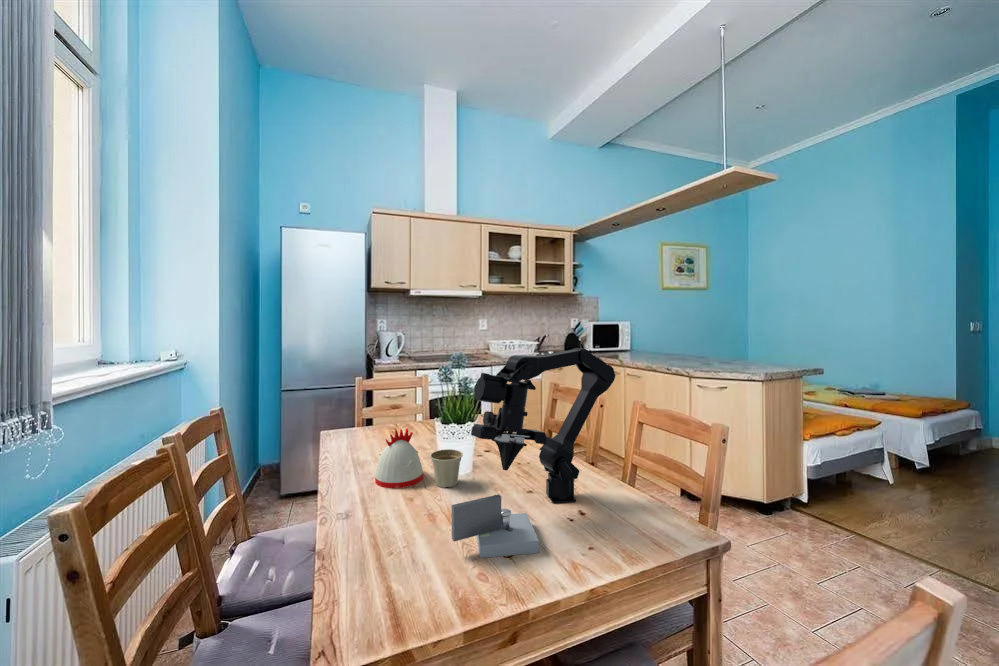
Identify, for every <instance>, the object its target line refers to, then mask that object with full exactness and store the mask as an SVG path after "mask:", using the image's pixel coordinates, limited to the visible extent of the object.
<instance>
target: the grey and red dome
mask: <svg viewBox="0 0 999 666" xmlns="http://www.w3.org/2000/svg"><path fill="white" fill-rule="evenodd" d="M389 437H390V439H391V440H390V441H389V440H388V439H387V438H385V442H386V444H387V445H386V447H385V448H384V449H383V451H382V452H381V454H380V456H379V458H378V462H377V464H376V468H375V474H374V477H375V478H374V481H375V484H376V485H377V487H381V488H384V489H403V487H404V488H409V487H411V486H412V487H413V486H414V485H417V484H419V483H420V482H421V481H422V480H423V478H424V473H423V472H424V471H423V466H422V462H421V458H420V456H419V452H418V450H416V448H415V447H414V446H413V445H412V444H411V443H410V441H411V438H412V437H413V431H410V433H409V429H408V428H406V429H405V432H404V433H403V430H402V429H401V428H399V432H398V430H397V429H394V436H393V434H391V433H390V434H389Z"/></svg>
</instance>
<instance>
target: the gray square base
mask: <svg viewBox="0 0 999 666" xmlns="http://www.w3.org/2000/svg"><path fill="white" fill-rule="evenodd" d="M476 540H477V546H478V552H479V558H480V559H483V558H495V557H497V558H498V557H507V556H517V555H528V554H529V555H530V554H539V553H540V541H539V538H538V535H537V534H536V530H535V529H534V526H533V525H532V522H531V520H530V518H529V516H528V513H527V512H522V513H521V512H520V513H519V512H518V513H511V515H510V527H509V528H508V529H502V528H501V529H499V530H495V531H492V532H488V533H484V534H480V535H477V536H476Z"/></svg>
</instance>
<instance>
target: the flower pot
mask: <svg viewBox="0 0 999 666" xmlns="http://www.w3.org/2000/svg"><path fill="white" fill-rule="evenodd" d="M463 455H464V452H462V451H460V450H458V449H452V448H451V449H450V448H446V449H439V450H435V451H433V452H431V453H430V454H429V458H430V459H431V463H432V465H433V472H434V479H435V485H436V486H437V487H438V488H439V487H440V488H452V487H454V486H456V485H457V484H458V481H459V473H460V464H461V461H462V457H463Z"/></svg>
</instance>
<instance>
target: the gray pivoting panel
mask: <svg viewBox="0 0 999 666" xmlns="http://www.w3.org/2000/svg"><path fill="white" fill-rule="evenodd" d="M511 514H512V510H510V509H509V508H502V495H500V494H494V495H490V496H489V495H488V496H486V497H481V498H475V499H472V500H468V501H464V502H459V503H454V504H451V540H452V541H453V542H454V543H455V542H458V541H462V540H464V539H465V540H466V539H469V538H472V537H477V535H480V534H484V533H488V532H492V531H495V530H499V529H501V528H502V529H508V528H509V527H510V515H511Z"/></svg>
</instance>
